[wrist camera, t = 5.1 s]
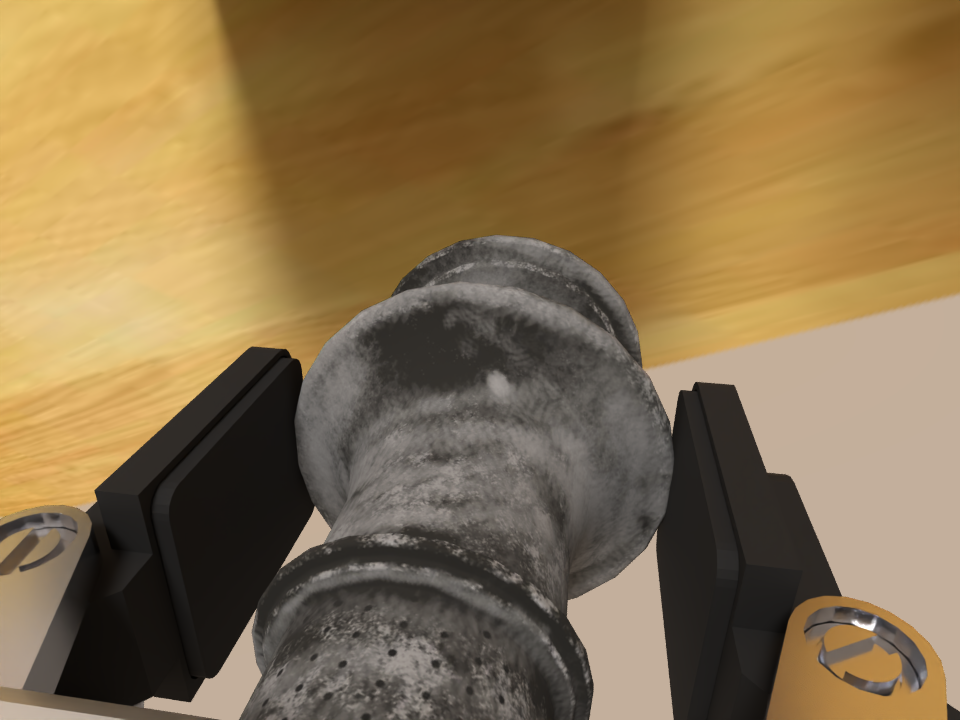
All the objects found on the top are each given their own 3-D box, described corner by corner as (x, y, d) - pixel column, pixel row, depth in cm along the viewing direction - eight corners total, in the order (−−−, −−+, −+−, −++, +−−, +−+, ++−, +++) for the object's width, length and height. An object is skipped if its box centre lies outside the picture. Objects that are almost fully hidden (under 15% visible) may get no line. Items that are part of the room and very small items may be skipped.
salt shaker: (518, 531, 15) (332, 1653, 5) (309, 366, 14) (-514, 1324, 4) (724, 363, 13) (1291, 1917, 2) (489, 149, 12) (-435, 1167, 1)
